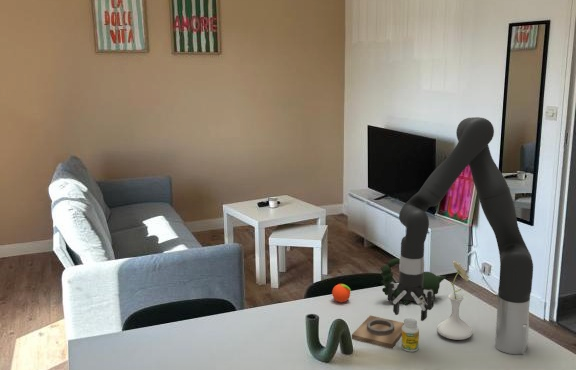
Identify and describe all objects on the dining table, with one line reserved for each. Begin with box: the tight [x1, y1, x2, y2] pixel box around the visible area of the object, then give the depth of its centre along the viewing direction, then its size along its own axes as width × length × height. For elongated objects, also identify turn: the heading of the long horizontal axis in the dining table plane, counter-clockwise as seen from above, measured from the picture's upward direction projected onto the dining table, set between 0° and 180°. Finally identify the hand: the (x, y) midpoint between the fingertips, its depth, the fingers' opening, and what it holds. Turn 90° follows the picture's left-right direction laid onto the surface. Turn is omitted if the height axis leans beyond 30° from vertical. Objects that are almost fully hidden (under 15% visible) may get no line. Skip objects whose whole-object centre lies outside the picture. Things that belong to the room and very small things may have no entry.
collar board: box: [351, 315, 404, 349], centre depth 190 cm, size 14×16×3 cm
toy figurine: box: [380, 257, 447, 306], centre depth 213 cm, size 9×19×25 cm
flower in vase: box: [436, 260, 473, 341], centre depth 186 cm, size 13×11×25 cm
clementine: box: [331, 283, 352, 303], centre depth 215 cm, size 8×7×7 cm
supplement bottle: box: [401, 317, 420, 353], centre depth 179 cm, size 5×5×10 cm
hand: (409, 317), depth 178 cm, fingers open, 8 cm apart
